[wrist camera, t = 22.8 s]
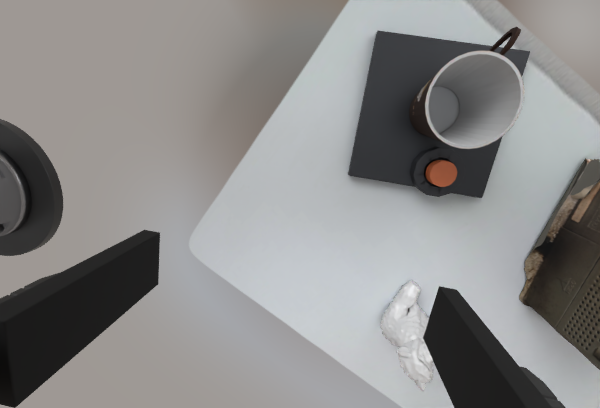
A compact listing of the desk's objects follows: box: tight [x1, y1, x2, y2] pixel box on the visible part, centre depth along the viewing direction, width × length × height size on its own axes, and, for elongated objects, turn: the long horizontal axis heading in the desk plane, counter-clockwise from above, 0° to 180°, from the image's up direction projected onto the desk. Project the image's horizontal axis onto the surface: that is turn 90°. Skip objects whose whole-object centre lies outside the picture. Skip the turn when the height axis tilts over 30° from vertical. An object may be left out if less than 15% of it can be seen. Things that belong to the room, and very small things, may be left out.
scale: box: [348, 31, 530, 198], centre depth 36 cm, size 18×19×3 cm
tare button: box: [425, 160, 457, 187], centre depth 35 cm, size 3×3×2 cm
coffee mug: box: [409, 27, 524, 149], centre depth 31 cm, size 12×9×10 cm
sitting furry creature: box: [381, 281, 433, 391], centre depth 38 cm, size 10×9×12 cm
